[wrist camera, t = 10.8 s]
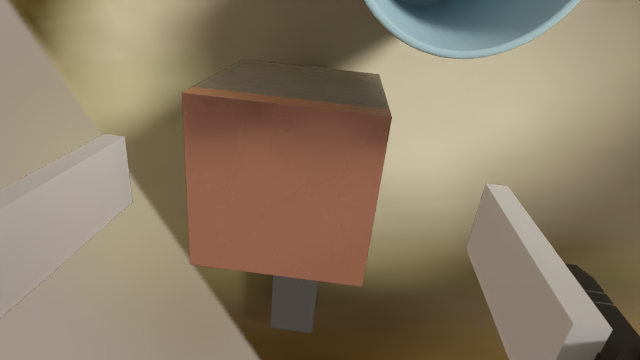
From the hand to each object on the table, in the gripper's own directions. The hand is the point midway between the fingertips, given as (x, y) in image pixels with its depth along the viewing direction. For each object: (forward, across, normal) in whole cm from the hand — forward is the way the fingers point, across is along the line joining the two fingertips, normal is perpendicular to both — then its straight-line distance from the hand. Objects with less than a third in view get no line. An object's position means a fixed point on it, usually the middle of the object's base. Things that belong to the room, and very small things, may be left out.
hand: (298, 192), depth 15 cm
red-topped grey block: (+8, -1, 0) cm, 8 cm away
